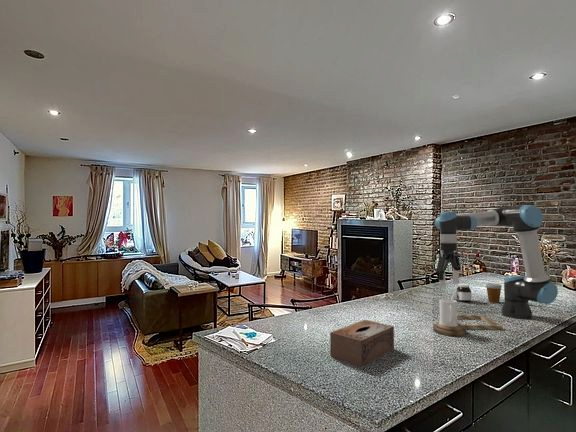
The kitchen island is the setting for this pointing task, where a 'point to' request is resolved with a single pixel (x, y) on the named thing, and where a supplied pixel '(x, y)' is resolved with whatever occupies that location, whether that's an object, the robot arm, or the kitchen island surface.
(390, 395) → the kitchen island surface
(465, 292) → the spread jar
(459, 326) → the brown wooden saucer
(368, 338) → the tissue box cover
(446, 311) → the mug
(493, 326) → the square wooden frame
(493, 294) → the disposable coffee cup
